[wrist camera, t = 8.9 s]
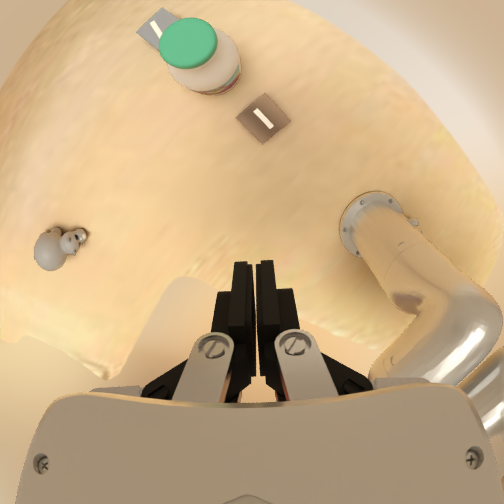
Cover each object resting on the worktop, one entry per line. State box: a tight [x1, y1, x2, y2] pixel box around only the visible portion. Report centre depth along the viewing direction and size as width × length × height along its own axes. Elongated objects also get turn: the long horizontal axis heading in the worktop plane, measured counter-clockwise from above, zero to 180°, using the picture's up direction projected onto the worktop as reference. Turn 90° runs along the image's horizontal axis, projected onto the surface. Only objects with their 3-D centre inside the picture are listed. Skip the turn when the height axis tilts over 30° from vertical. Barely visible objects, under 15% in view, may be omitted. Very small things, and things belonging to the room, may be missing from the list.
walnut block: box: [236, 93, 291, 144], centre depth 34 cm, size 5×5×5 cm
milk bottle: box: [159, 18, 241, 95], centre depth 24 cm, size 8×8×20 cm
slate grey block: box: [136, 7, 179, 51], centre depth 27 cm, size 5×5×5 cm
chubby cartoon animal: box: [34, 227, 87, 271], centre depth 42 cm, size 7×12×8 cm, turn 97°
